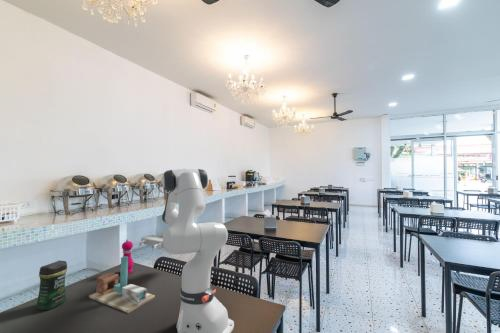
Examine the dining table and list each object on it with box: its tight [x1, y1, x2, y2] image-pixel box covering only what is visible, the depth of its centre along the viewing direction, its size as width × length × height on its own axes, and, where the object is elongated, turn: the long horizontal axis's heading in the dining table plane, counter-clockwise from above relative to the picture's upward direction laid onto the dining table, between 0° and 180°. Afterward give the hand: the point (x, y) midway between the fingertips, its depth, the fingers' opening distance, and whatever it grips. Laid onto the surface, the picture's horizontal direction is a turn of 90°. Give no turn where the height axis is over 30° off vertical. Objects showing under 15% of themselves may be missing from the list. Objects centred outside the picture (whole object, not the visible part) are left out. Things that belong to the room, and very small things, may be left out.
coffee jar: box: [36, 260, 68, 311], centre depth 104 cm, size 10×8×19 cm
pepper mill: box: [119, 238, 135, 275], centre depth 139 cm, size 7×7×20 cm
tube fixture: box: [88, 271, 156, 314], centre depth 110 cm, size 28×14×8 cm, turn 64°
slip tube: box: [114, 256, 144, 299], centre depth 108 cm, size 17×3×16 cm, turn 64°
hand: (146, 245), depth 122 cm, fingers open, 8 cm apart
